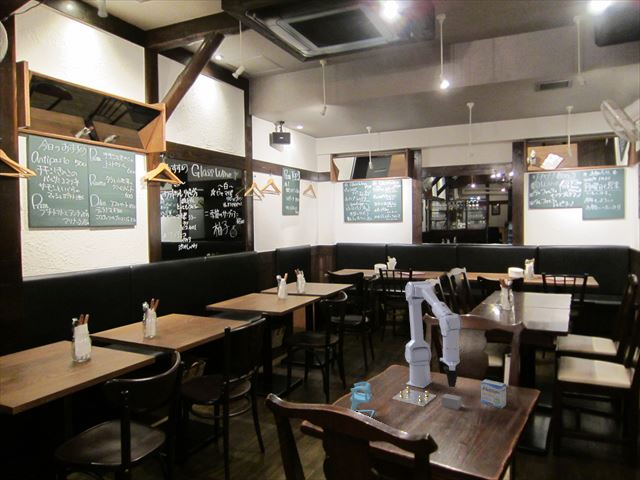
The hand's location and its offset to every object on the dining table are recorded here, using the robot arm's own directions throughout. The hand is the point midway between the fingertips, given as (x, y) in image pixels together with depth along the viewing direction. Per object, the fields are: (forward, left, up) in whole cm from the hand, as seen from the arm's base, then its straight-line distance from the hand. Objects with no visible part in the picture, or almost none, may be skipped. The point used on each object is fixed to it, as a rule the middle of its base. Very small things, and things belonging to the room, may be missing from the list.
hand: (451, 383), depth 163 cm
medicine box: (-11, +12, -9) cm, 19 cm away
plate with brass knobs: (0, -15, -9) cm, 18 cm away
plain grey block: (0, 0, -10) cm, 10 cm away
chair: (+25, -24, -9) cm, 36 cm away
